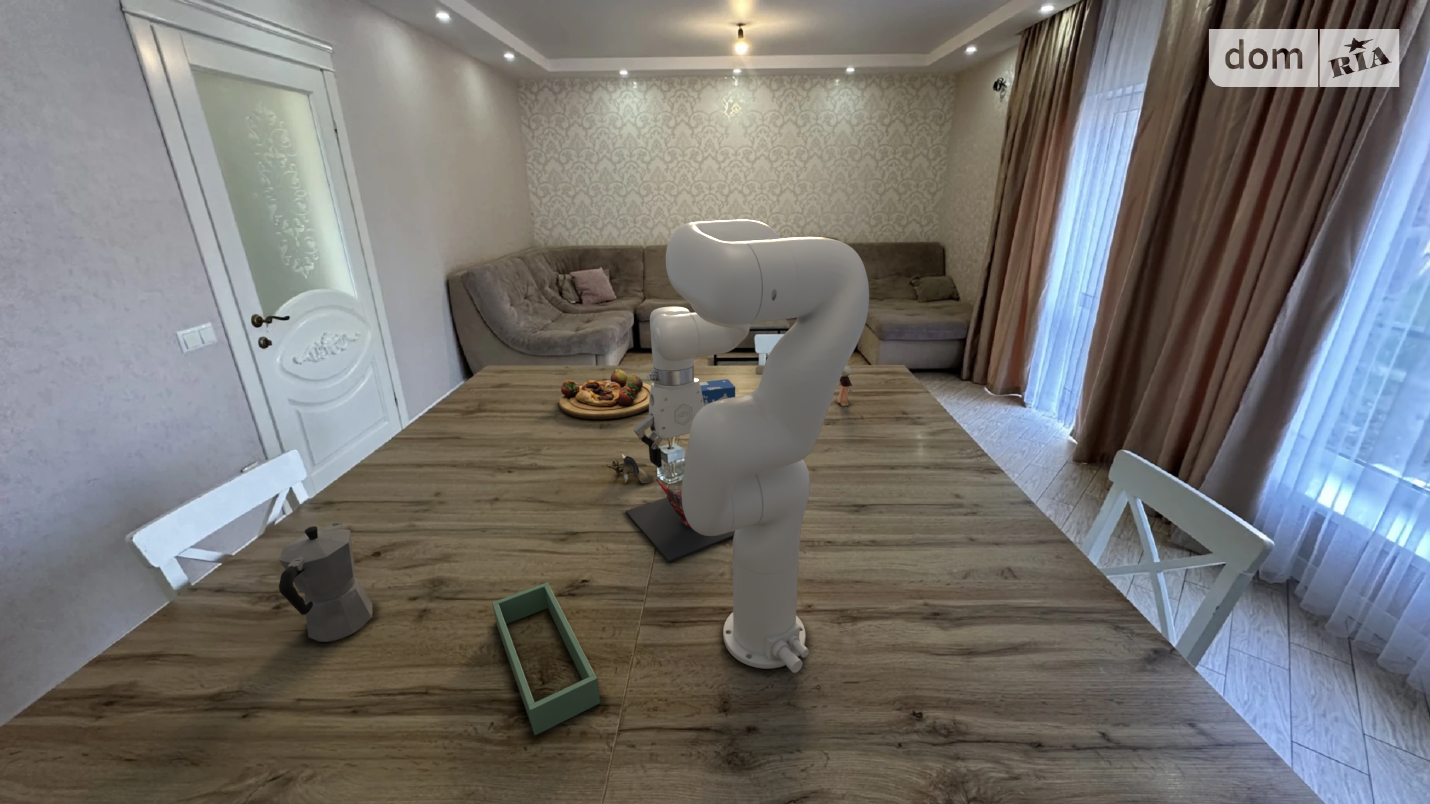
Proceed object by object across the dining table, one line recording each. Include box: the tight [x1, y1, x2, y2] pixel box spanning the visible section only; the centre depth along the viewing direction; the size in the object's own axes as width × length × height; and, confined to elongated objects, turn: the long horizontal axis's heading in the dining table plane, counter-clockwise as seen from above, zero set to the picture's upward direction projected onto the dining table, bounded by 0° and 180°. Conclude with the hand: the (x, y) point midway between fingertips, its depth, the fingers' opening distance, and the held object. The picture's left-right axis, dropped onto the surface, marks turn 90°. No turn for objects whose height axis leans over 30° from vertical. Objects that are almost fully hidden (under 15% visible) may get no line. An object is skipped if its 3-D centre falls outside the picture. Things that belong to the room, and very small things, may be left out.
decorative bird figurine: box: [655, 478, 693, 529], centre depth 112 cm, size 3×18×10 cm, turn 39°
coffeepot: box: [278, 522, 374, 643], centre depth 85 cm, size 15×9×18 cm, turn 6°
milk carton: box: [699, 378, 736, 406], centre depth 137 cm, size 10×6×20 cm, turn 105°
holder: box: [491, 581, 601, 736], centre depth 80 cm, size 23×9×4 cm, turn 32°
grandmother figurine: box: [836, 365, 853, 407], centre depth 172 cm, size 8×4×13 cm, turn 25°
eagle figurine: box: [605, 453, 652, 484], centre depth 131 cm, size 8×7×9 cm
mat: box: [625, 496, 735, 564], centre depth 114 cm, size 20×16×1 cm
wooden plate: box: [558, 368, 651, 420], centre depth 178 cm, size 32×32×8 cm
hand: (678, 458), depth 108 cm, fingers open, 9 cm apart
